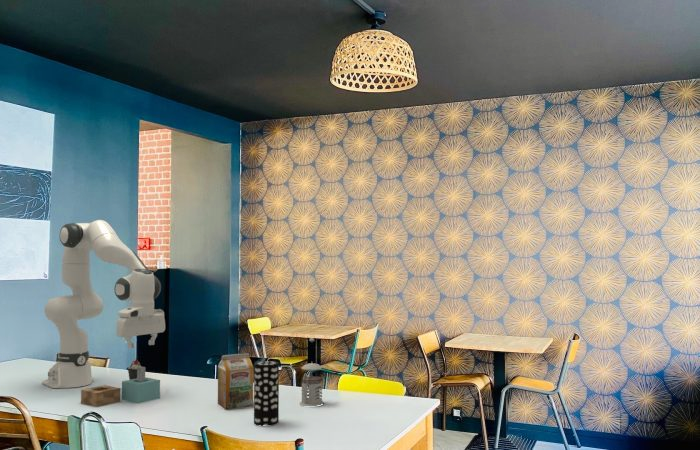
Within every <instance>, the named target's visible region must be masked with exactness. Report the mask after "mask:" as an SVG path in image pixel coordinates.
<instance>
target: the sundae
mask: <svg viewBox="0 0 700 450" xmlns="http://www.w3.org/2000/svg"><path fill="white" fill-rule="evenodd" d="M138 357H139V356H136V357H135V360H133V361H132V362H131V364H130V365H129V367H127V368H126V369H125V370H126V371H127V372H128V380H132V379H137V368H138V367H142V365H141V363H140V362H139V360H138Z"/></svg>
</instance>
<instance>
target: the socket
mask: <svg viewBox="0 0 700 450" xmlns="http://www.w3.org/2000/svg"><path fill="white" fill-rule="evenodd" d="M121 391H122V387H116V386H112V385H107V384H103V385H98V386H93V387H87V388H83V389H81V390H80V404H82V405H86V406H91V407H94V408H98V407H102V406H107V405H112V404H115V403H117V404H118V403H120V402H121Z"/></svg>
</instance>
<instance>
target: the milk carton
mask: <svg viewBox="0 0 700 450" xmlns="http://www.w3.org/2000/svg"><path fill="white" fill-rule="evenodd" d="M217 405H219V406H220V407H221V408H222V409H223V410H225V411H227V410H228V411H229V410H236V409H243V408H244V409H245V408H251V407H252V408H254V365H253V363H252V360H251V358H250V354H249V352H247V353H235V354H225V355H224V354H223V355H221V359H220V361H219V362H218V366H217Z"/></svg>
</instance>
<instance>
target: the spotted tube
mask: <svg viewBox="0 0 700 450" xmlns="http://www.w3.org/2000/svg"><path fill="white" fill-rule="evenodd" d="M279 373H280V363H279V362H278V361H275V360H262V361H261V360H260V361H256V362H254V363H253V424H254V425H255V424H256V425H255V426H258V425H261V426H260V427H264V426H263V425H271V426H275V425H278V424H279V419H280V418H279V416H280V415H279V414H280V413H279V409H280V408H279V406H280V404H279V403H280V402H279V401H280V400H279V399H280V397H279V395H280V393H279V391H280V389H279V388H280V387H279V386H280V385H279V383H280V382H279V381H280V380H279V379H280V378H279V377H280V376H279V375H280V374H279ZM277 423H278V424H277ZM274 424H275V425H274Z"/></svg>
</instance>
